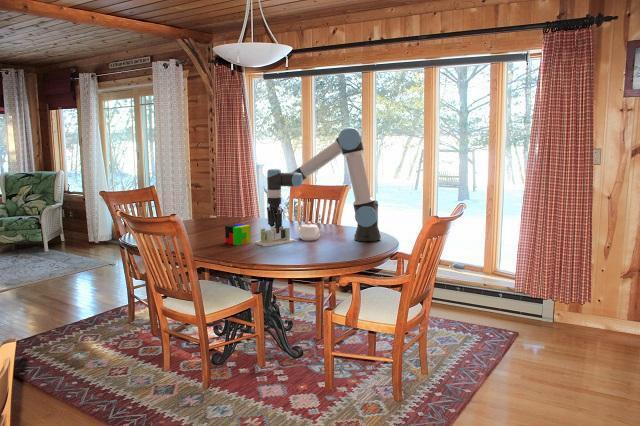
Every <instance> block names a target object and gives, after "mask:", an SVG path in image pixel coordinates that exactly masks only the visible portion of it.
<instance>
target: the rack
mask: <svg viewBox="0 0 640 426" xmlns="http://www.w3.org/2000/svg"><path fill="white" fill-rule="evenodd" d="M283 228H285V238H284V239H276V240H271V229H268V230H266V228H264V227H263V228H262V227H261V228H260V232H261V231H267V241H262V240H261V239H260V240H255V241H254V242H255V244H257V245H260V246H262V247H263V248H265V247H269V246H277V245H281V244H283V245H284V244H288V243H289V244H290V243H295V242H296V239H294V238H291V236H290V235H291V234H290V231H291V230H290V227H284V226H283V225H282V227H280V228H279V229H283Z"/></svg>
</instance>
